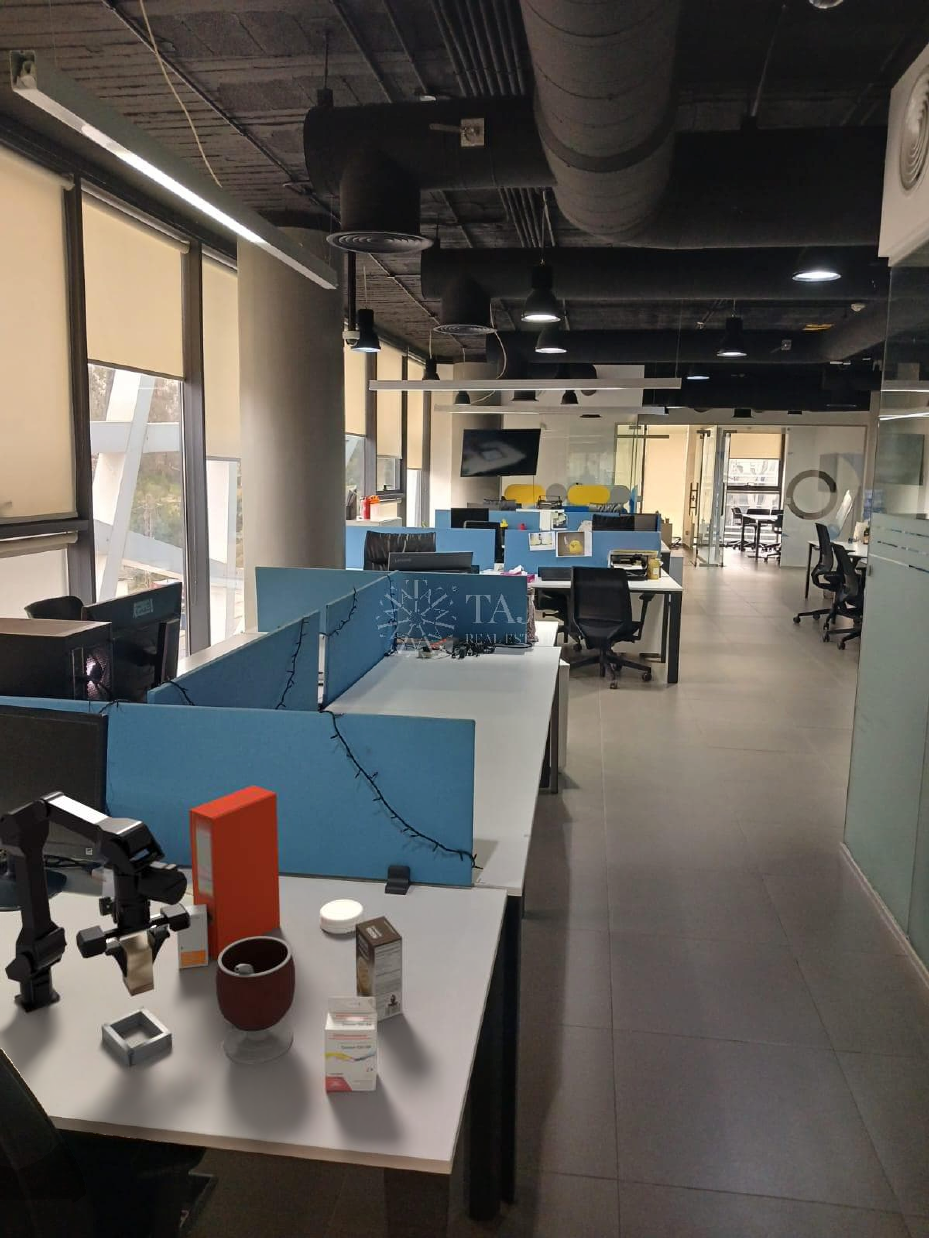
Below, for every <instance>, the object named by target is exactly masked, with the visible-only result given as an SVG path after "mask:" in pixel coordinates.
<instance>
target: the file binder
mask: <svg viewBox="0 0 929 1238" xmlns="http://www.w3.org/2000/svg"><path fill="white" fill-rule="evenodd" d="M277 794H278V793H276V792H274V791H271V790H268V789H265V788H262V787H259V786H257V785H251V786H248V787H245V788H243V789H239V790H237V791H234V792H233V793H230V794H227V795H225V796H222V797H218V798H217V799H213V800H211V801H209V802H206V803H204V804H202V805H201V804H200V805H198V806H196V807H193V808H190V809H189V810H188V812H189V813H188V814H189V816H188V817H189V837H190V854H191V855H190V857H191V858H190V859H191V875H192V876H191V877H192V899H193V900H192V901H193V905H203V904H206V905H207V931H208V957H211V958H213V959H215V960H217V961H218V957H219V955H220V953H221V952H222V951H223V950H224V949H225V948H226V947H227V946H229V945H230V944H232V943H234V942H236V941H239V940H242V939H245V938H250V937H257V936H264V935H266V934H267V932H268V933H270V932H271V931H273V930H275V929H276V927H277V928H279V927H280V925H281V913H280V912H281V909H280V908H281V907H280V904H281V903H280V880H279V879H280V875H279V874H280V873H279V872H280V870H279V837H278V836H279V835H278V834H279V833H278V805H277V803H278V798H277V797H278V795H277ZM274 928H275V929H274ZM263 934H264V935H263Z"/></svg>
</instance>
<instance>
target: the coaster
mask: <svg viewBox="0 0 929 1238" xmlns="http://www.w3.org/2000/svg"><path fill="white" fill-rule="evenodd" d="M364 915H365V914H364V907H363V906H362V904H361V903H360V902H358V901H356V900H352V899H336V900H332V901H330V902H328V903H326V904H325V905H323V906H322V907H321V908H320V910H319V925H320V927H321V929H322V930H323V931H325V932H328V933H329V934H339V935H341V934H342V935H343V933H344V934H348V932H349V933H352V932H354V931H355V932H356V928H355V925H356V924H358V923H362V922H365V919H364ZM351 931H352V932H351Z"/></svg>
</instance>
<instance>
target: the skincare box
mask: <svg viewBox="0 0 929 1238" xmlns="http://www.w3.org/2000/svg"><path fill="white" fill-rule="evenodd" d="M184 908H185V909H186V910H187V912H188V913H189V915H190V923H191V926H190V927H189V928H187V929H184V930H180V931H177V932H176V935H177V936H176V937H177V939H176V940H177V957H178V959H177V960H178V963H177V964H178V969H179V970H182V969H189V968H196V967H205V966H209V955H208V931H207V905H206V904H203V905H194V904H193V905H192V904H191V905H188V906H184Z"/></svg>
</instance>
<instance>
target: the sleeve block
mask: <svg viewBox="0 0 929 1238" xmlns="http://www.w3.org/2000/svg"><path fill="white" fill-rule="evenodd" d="M120 944H121V946H122V947H123V949H124V955H125V961H126V967H127V977H124V975H123V973H122V972H121V977H122V982H123V985H124V986H125V988H126V989H127V991H128V994H129V995H130V997H135V996H138V995H141V994H144V993H147V992H150V991H152V990H154V989H155V983H154V979H155V978H154V969H153V967H154V964H152V949H151V947H150V946H149V944H148V942H147V938H145V936H144V934H141V933H140V934H139V935H133V936H132V937H128V938H125V939H122V940H121V939H120Z"/></svg>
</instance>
